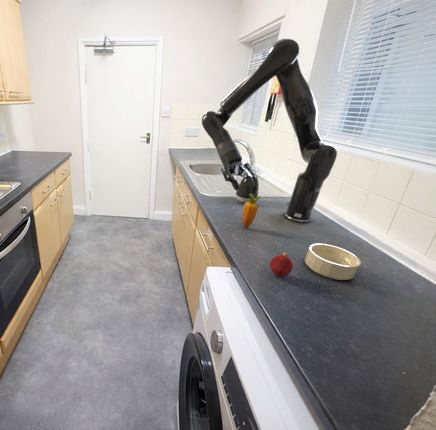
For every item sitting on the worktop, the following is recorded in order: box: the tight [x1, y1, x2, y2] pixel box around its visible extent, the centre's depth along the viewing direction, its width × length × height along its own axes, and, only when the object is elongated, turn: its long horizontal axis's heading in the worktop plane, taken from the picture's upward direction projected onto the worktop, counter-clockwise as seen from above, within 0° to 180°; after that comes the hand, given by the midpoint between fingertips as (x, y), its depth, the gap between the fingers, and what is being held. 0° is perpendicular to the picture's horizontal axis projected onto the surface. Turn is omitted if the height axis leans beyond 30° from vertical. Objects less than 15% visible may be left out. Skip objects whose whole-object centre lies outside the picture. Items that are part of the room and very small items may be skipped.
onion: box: [269, 252, 294, 277], centre depth 79 cm, size 6×6×8 cm
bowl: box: [304, 243, 362, 281], centre depth 83 cm, size 13×13×6 cm
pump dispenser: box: [235, 172, 260, 204], centre depth 133 cm, size 10×10×15 cm
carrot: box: [242, 194, 261, 229], centre depth 106 cm, size 5×5×15 cm
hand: (245, 188), depth 105 cm, fingers open, 8 cm apart
